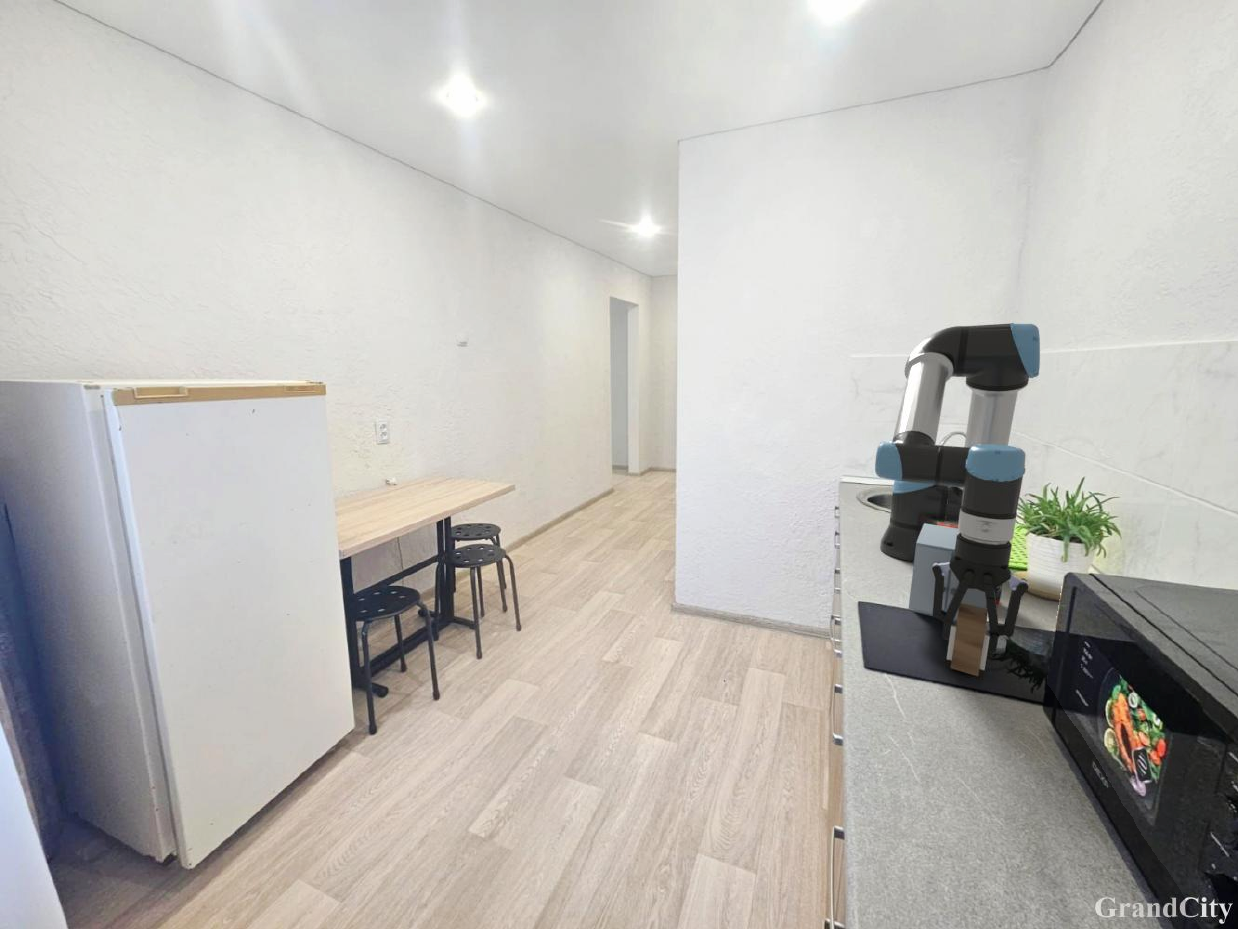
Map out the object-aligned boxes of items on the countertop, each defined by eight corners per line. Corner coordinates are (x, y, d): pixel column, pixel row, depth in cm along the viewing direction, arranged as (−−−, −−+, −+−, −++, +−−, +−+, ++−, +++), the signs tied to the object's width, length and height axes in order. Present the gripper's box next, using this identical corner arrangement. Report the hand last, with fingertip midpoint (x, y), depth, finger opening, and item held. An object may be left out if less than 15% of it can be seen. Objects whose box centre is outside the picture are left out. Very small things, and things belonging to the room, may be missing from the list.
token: (972, 636, 98) (973, 627, 97) (1003, 644, 95) (1005, 634, 95) (973, 648, 94) (974, 639, 93) (1006, 657, 91) (1007, 647, 91)
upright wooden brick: (955, 626, 100) (963, 576, 97) (980, 632, 97) (987, 581, 95) (950, 668, 86) (958, 611, 84) (978, 676, 84) (987, 618, 82)
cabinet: (913, 607, 109) (924, 523, 105) (979, 624, 102) (993, 534, 98) (904, 638, 97) (915, 544, 93) (978, 659, 90) (993, 558, 86)
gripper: (922, 533, 84) (907, 654, 89) (1053, 555, 74) (1028, 691, 79) (927, 521, 90) (913, 636, 95) (1049, 540, 80) (1026, 667, 84)
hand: (965, 660), depth 87 cm, fingers closed on upright wooden brick, 4 cm apart
